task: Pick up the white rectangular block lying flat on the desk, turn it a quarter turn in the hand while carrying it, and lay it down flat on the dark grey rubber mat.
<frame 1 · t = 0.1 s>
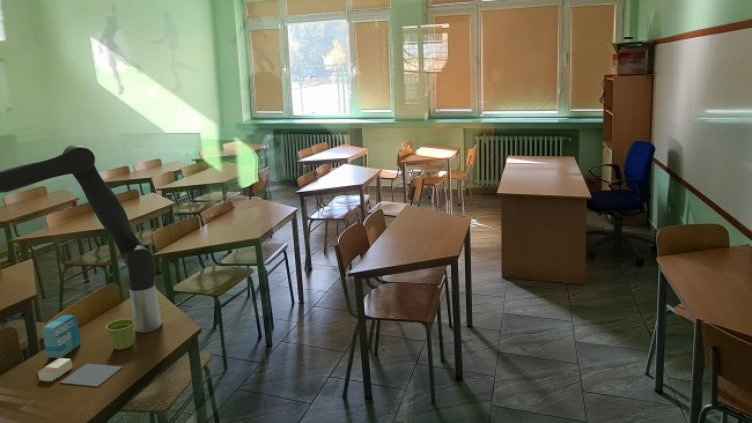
plant pot: (123, 346, 203), on the table
data package: (65, 352, 200), on the table
mat: (92, 375, 183), on the table
white rectangular block: (56, 374, 185), on the table
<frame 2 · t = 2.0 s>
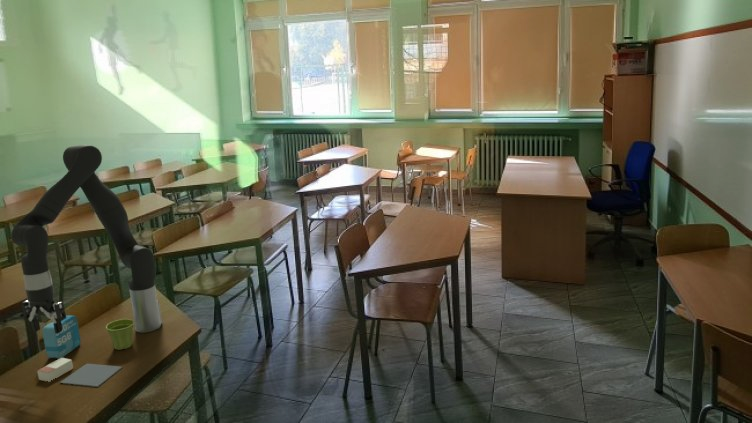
hand: (47, 331, 181), 15 cm above the table, tool pointing down, fingers open, 8 cm apart
nothing on the table moved.
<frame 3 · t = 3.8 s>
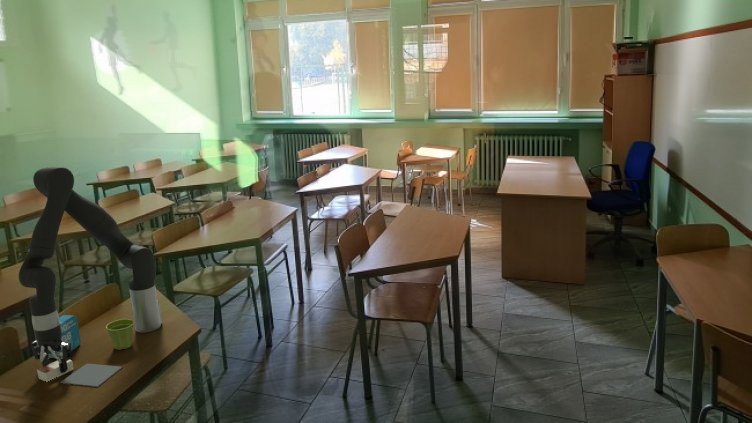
hand: (55, 370, 185), 1 cm above the table, tool pointing down, fingers closed on white rectangular block, 5 cm apart
white rectangular block: (56, 374, 185), on the table, touching gripper
everything else where it was.
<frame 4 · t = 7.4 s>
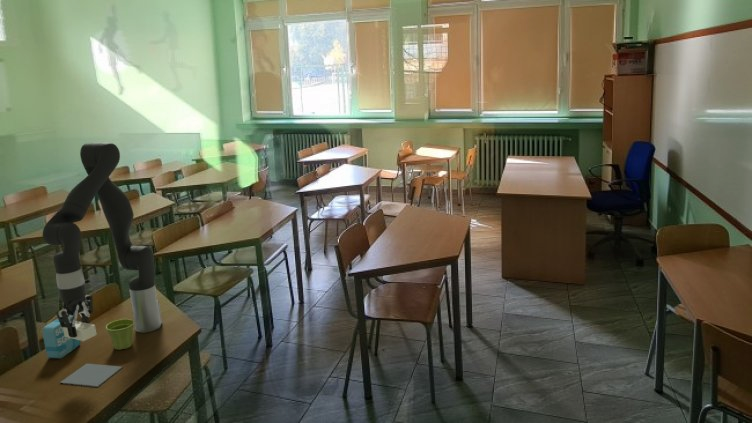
hand: (80, 332, 179), 15 cm above the table, tool pointing down, fingers closed on white rectangular block, 5 cm apart
white rectangular block: (80, 335, 180), point 14 cm above the table, touching gripper
everything else where it was.
when the fingers open (3 cm above the table, at t = 10.9 s): white rectangular block drops 1 cm, resting on mat.
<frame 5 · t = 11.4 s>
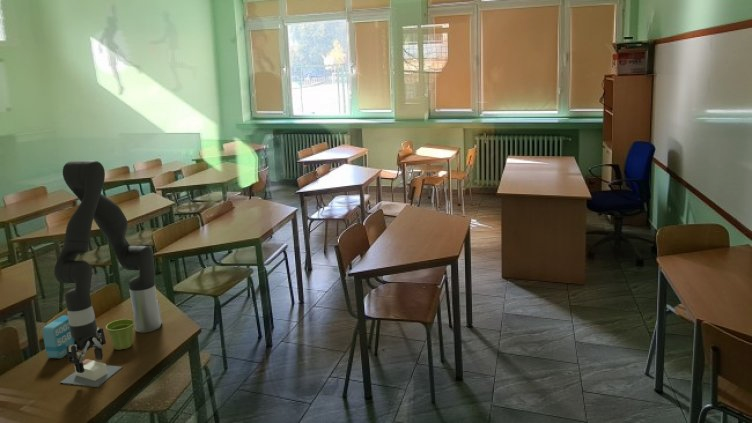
hand: (90, 365, 182), 4 cm above the table, tool pointing down, fingers open, 8 cm apart
white rectangular block: (91, 374, 183), resting on mat
everything else where it was.
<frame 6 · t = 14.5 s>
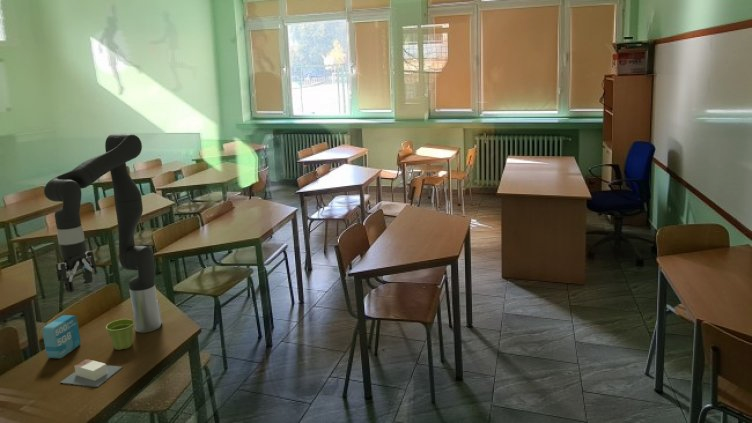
hand: (80, 287, 184), 28 cm above the table, tool pointing down, fingers open, 8 cm apart
nothing on the table moved.
at the end: white rectangular block 0.0 cm off-centre on the mat, point 0.4 cm above the mat's base; white rectangular block tilted 0°; the gripper is holding nothing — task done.
